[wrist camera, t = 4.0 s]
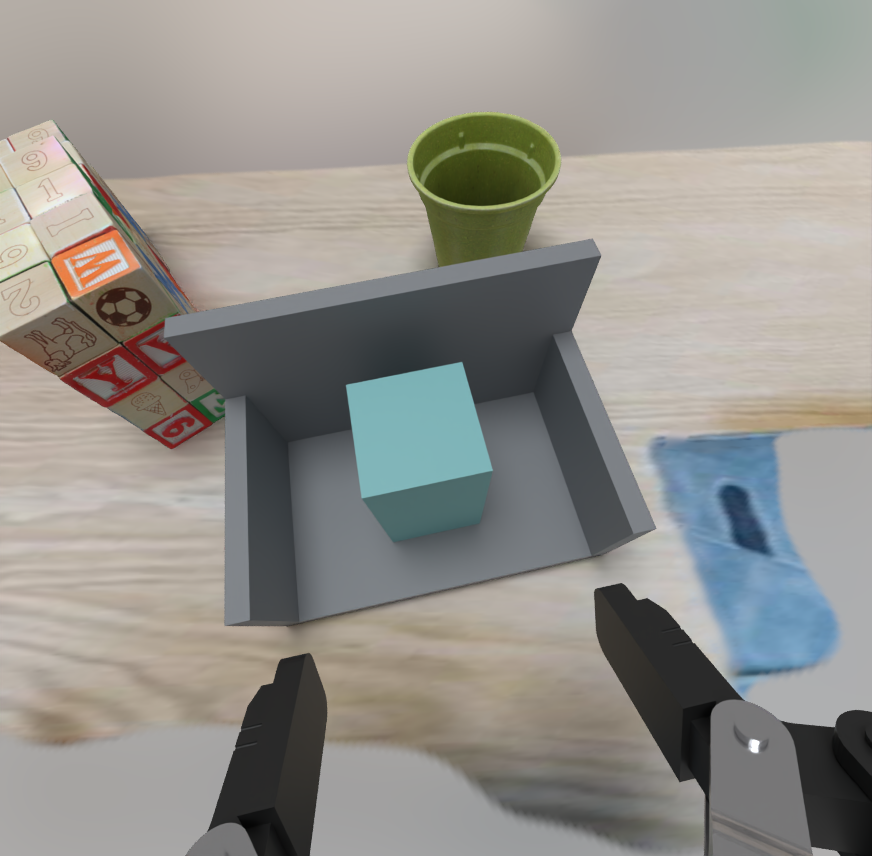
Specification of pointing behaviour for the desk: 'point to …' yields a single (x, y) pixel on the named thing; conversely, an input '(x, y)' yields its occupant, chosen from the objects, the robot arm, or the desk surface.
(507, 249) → the plant pot
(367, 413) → the block
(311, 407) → the grey open tray
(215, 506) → the desk surface
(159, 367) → the stack of blocks
